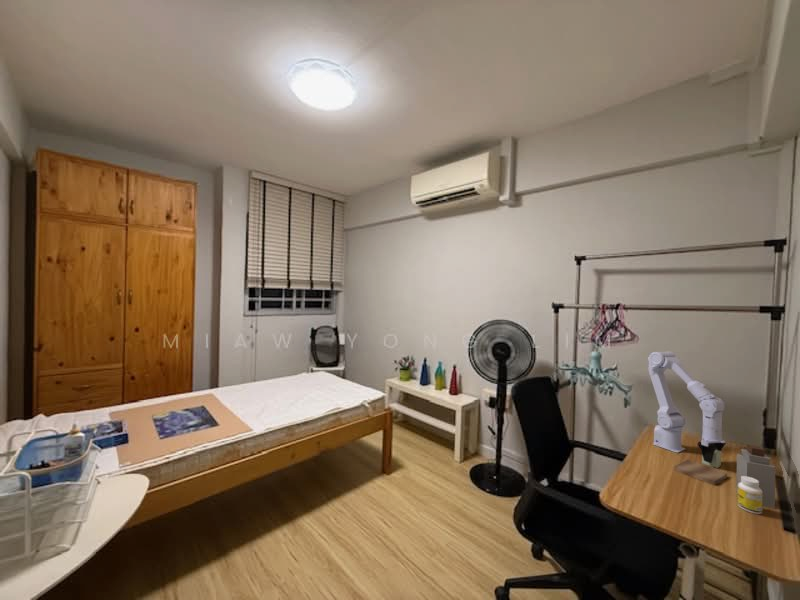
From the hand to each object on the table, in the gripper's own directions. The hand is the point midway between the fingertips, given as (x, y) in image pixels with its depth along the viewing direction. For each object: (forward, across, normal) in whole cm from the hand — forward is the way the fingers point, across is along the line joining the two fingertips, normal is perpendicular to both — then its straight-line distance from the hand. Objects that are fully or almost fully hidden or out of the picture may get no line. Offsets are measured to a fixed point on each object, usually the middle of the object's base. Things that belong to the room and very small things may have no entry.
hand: (711, 459), depth 134 cm
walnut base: (+2, -14, -1) cm, 14 cm away
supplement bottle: (+2, -28, -18) cm, 33 cm away
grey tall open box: (+2, -19, -17) cm, 26 cm away
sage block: (+2, 0, 0) cm, 2 cm away
